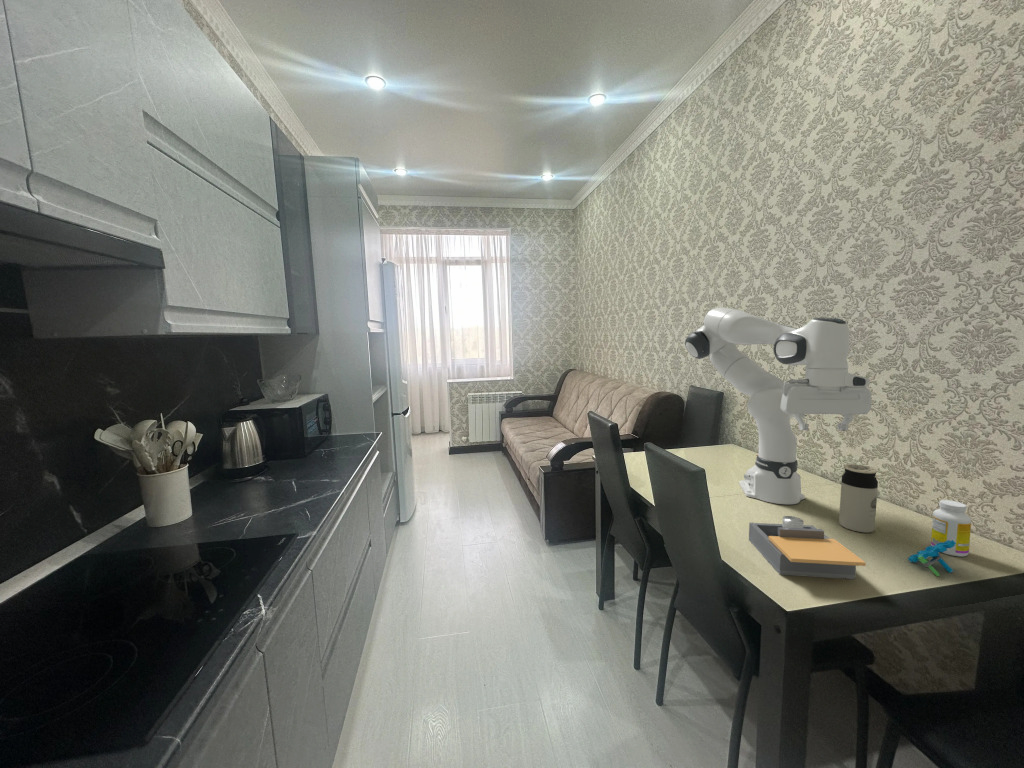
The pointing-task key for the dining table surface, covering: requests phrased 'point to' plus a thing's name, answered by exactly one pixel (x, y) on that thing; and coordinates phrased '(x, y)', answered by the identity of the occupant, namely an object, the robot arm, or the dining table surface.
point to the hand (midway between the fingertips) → (822, 430)
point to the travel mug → (858, 498)
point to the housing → (784, 565)
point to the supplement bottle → (952, 527)
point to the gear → (933, 555)
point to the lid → (812, 547)
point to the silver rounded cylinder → (792, 522)
